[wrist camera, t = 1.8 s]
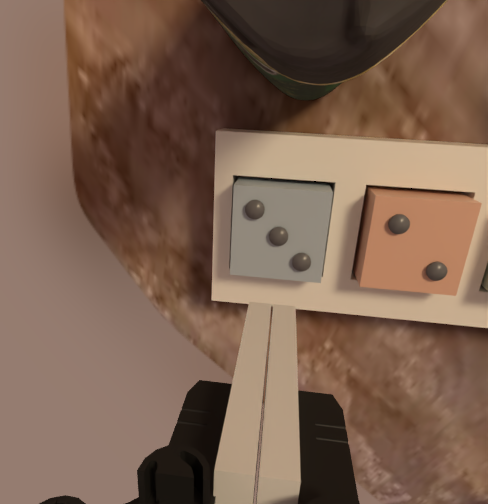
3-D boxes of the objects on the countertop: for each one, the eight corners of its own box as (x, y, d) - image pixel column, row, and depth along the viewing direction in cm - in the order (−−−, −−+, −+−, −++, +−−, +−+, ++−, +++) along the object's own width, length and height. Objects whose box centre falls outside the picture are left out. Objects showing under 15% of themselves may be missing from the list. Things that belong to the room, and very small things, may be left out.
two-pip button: (438, 276, 27) (457, 297, 24) (352, 268, 28) (360, 288, 25) (460, 192, 25) (483, 204, 22) (366, 185, 26) (376, 196, 22)
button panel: (559, 315, 29) (587, 338, 26) (218, 283, 31) (211, 300, 28) (623, 152, 25) (665, 158, 22) (223, 128, 27) (215, 130, 24)
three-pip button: (317, 265, 28) (320, 284, 25) (235, 258, 28) (229, 276, 25) (328, 183, 26) (333, 193, 23) (239, 176, 26) (233, 185, 23)
